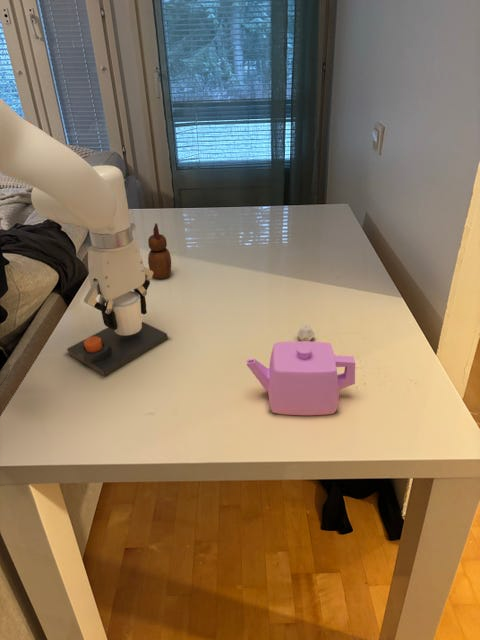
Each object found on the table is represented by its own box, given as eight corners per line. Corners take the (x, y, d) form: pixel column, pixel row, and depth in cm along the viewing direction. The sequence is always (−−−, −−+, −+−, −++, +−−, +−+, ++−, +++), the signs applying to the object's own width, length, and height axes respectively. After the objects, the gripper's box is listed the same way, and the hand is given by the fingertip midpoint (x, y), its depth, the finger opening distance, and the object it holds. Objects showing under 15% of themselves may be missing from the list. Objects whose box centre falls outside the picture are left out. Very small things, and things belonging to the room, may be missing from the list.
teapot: (246, 416, 77) (245, 367, 71) (248, 377, 86) (247, 330, 80) (357, 418, 76) (364, 367, 70) (347, 377, 85) (353, 330, 79)
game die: (296, 344, 94) (296, 331, 93) (297, 334, 97) (298, 322, 96) (313, 345, 94) (314, 333, 92) (314, 335, 97) (315, 323, 95)
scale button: (92, 354, 89) (90, 347, 88) (82, 349, 90) (80, 341, 89) (105, 347, 91) (104, 339, 90) (96, 341, 92) (94, 334, 92)
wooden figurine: (171, 280, 121) (165, 225, 113) (149, 281, 121) (141, 226, 113) (173, 269, 127) (167, 216, 119) (152, 270, 127) (144, 217, 119)
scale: (102, 378, 87) (99, 365, 85) (66, 355, 93) (62, 343, 92) (167, 339, 97) (166, 326, 96) (131, 321, 104) (129, 309, 102)
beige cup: (141, 337, 93) (136, 306, 89) (107, 337, 93) (100, 306, 89) (147, 319, 99) (143, 289, 95) (115, 319, 99) (110, 290, 95)
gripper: (135, 219, 93) (147, 298, 102) (58, 246, 82) (79, 332, 91) (160, 227, 89) (170, 308, 98) (83, 256, 78) (102, 345, 87)
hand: (126, 319), depth 95 cm, fingers closed on beige cup, 6 cm apart
